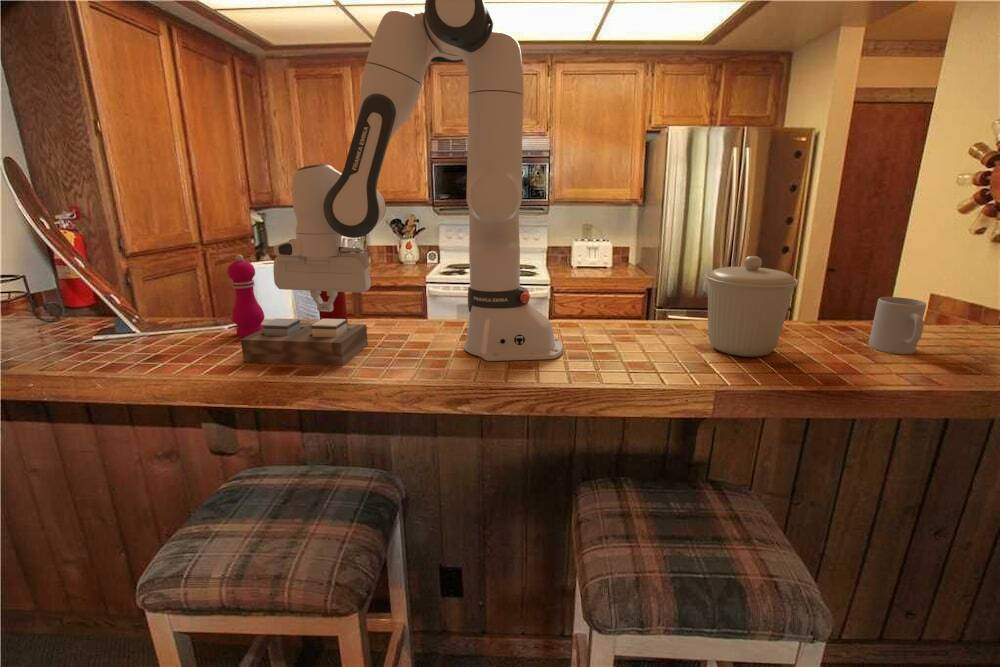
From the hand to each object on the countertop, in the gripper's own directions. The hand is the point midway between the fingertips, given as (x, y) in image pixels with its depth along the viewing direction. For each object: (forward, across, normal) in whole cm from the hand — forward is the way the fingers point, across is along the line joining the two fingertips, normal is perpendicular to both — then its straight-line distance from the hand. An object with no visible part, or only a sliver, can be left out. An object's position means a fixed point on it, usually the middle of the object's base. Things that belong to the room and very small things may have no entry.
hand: (325, 310), depth 108 cm
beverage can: (+10, +8, -20) cm, 24 cm away
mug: (+8, -125, -15) cm, 126 cm away
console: (+10, +5, 0) cm, 11 cm away
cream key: (+8, -1, 0) cm, 8 cm away
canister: (+8, -91, -12) cm, 92 cm away
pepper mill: (+11, +27, -13) cm, 32 cm away
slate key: (+8, +10, 0) cm, 13 cm away
